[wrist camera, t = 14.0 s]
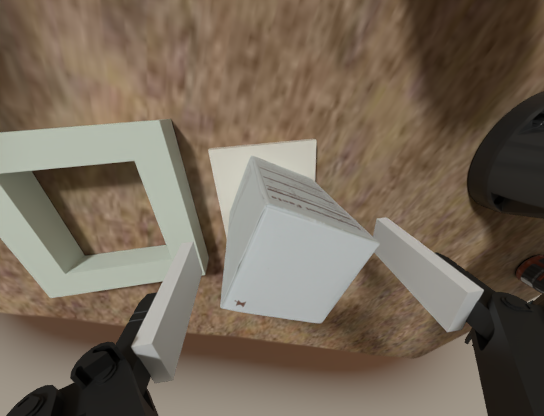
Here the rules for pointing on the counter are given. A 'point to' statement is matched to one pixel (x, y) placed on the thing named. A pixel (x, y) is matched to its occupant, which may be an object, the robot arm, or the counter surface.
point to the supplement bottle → (532, 272)
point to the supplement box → (289, 246)
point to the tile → (235, 158)
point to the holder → (52, 230)
